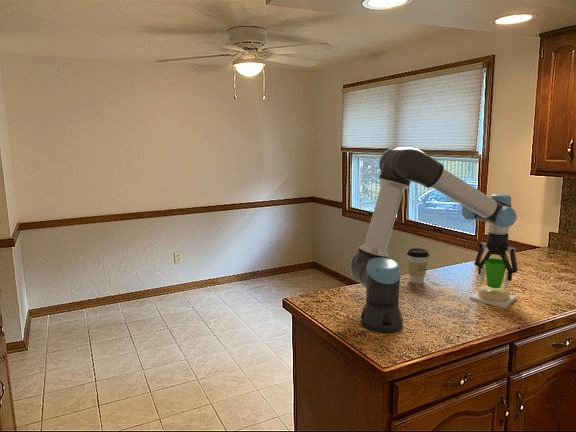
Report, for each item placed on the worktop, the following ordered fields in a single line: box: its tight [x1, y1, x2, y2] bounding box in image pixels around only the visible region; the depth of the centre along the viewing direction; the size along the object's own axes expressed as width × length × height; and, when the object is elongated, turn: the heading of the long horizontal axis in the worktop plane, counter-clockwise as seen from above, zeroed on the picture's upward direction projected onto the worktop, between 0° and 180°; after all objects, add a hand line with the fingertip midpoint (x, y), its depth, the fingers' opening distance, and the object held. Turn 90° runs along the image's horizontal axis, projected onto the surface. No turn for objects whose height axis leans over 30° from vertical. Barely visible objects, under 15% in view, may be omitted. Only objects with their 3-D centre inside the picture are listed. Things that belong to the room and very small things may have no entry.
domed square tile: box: [469, 285, 517, 309], centre depth 185 cm, size 14×14×4 cm
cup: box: [483, 257, 507, 288], centre depth 184 cm, size 9×9×11 cm
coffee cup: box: [406, 248, 430, 285], centre depth 207 cm, size 10×10×15 cm
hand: (494, 285), depth 185 cm, fingers closed on cup, 9 cm apart
